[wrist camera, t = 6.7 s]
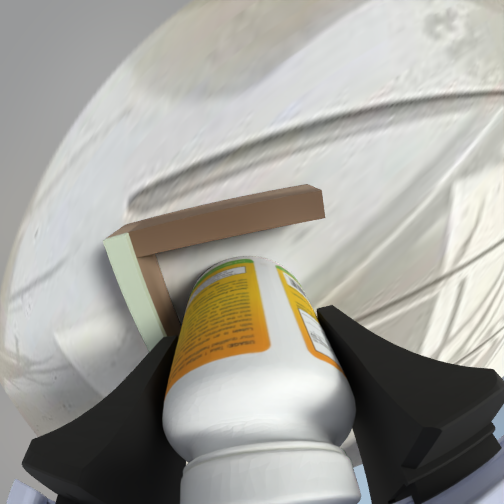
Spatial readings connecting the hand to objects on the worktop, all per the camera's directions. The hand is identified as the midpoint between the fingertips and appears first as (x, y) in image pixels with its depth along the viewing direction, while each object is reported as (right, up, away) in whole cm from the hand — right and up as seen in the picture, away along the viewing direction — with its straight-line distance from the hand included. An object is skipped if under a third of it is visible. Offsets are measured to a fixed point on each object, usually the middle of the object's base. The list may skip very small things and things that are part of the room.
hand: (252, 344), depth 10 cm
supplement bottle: (0, +1, +3) cm, 3 cm away
